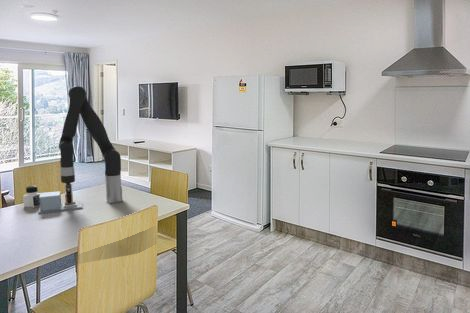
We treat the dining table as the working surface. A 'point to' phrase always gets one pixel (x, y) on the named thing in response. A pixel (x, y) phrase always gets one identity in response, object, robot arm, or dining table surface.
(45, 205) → the cover
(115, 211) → the dining table surface
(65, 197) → the tan rectangular block
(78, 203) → the housing base
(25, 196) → the medicine bottle
